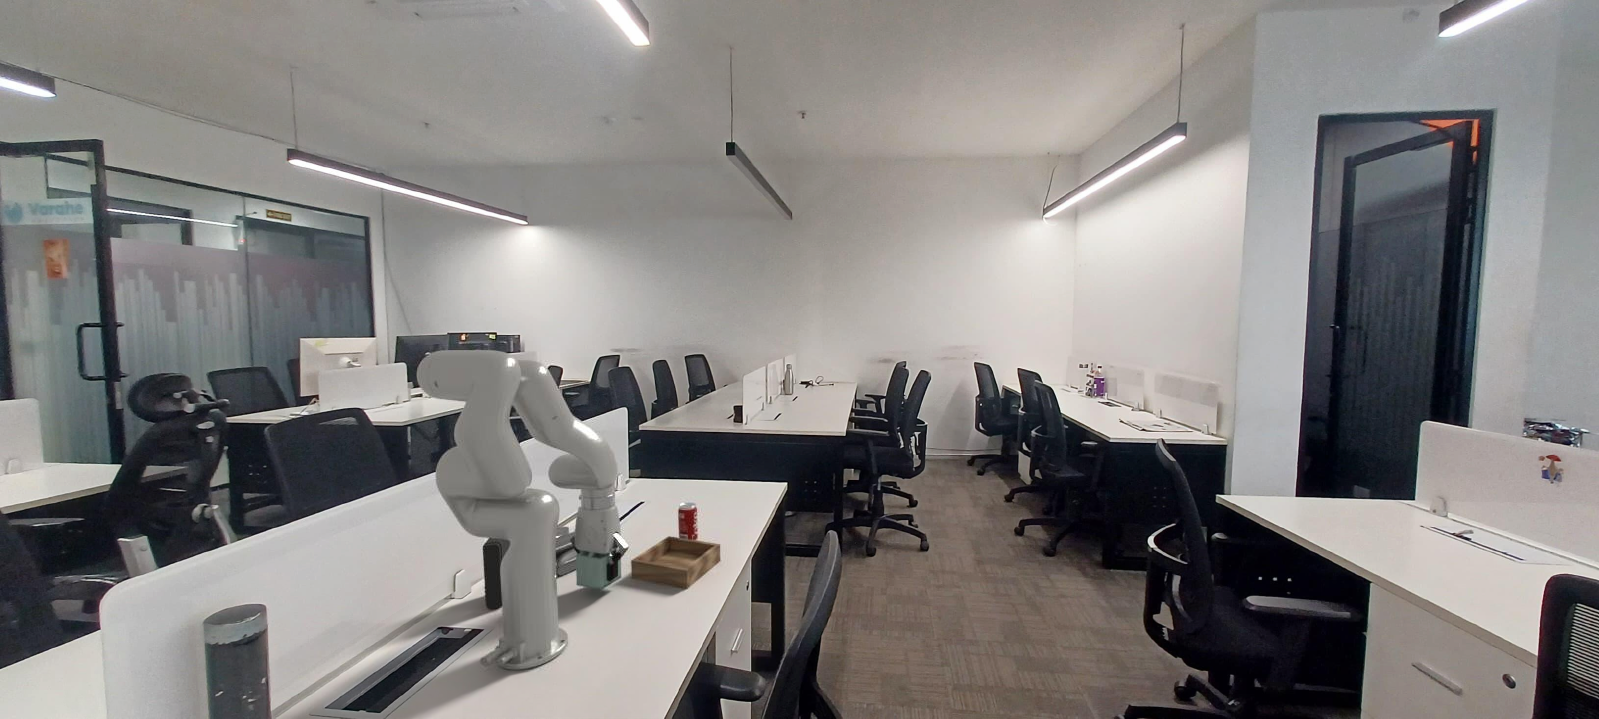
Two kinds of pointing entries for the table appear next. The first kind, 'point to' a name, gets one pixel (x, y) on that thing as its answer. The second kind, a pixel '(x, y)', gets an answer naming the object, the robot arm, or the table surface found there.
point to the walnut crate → (676, 562)
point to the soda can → (688, 521)
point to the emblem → (565, 551)
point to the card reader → (493, 570)
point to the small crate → (594, 570)
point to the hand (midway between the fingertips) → (599, 575)
